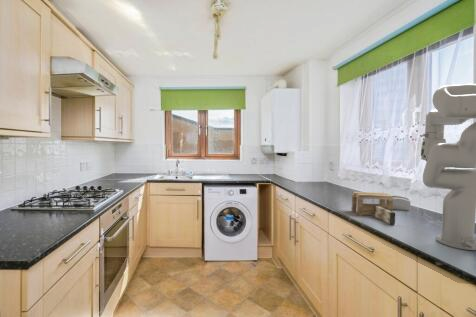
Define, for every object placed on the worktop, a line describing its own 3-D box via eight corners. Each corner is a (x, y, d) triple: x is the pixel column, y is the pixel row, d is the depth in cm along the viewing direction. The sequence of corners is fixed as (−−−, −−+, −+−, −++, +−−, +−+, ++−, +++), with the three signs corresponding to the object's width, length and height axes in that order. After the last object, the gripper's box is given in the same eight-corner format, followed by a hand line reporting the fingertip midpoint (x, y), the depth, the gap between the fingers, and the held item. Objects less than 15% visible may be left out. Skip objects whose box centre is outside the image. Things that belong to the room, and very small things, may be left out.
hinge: (406, 208, 148) (410, 195, 145) (409, 212, 144) (413, 199, 140) (378, 206, 153) (380, 193, 149) (380, 210, 149) (382, 197, 145)
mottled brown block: (373, 216, 129) (374, 205, 128) (376, 216, 129) (377, 205, 128) (391, 224, 114) (391, 212, 114) (394, 224, 114) (395, 213, 114)
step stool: (392, 217, 128) (393, 196, 128) (358, 215, 130) (359, 194, 130) (382, 212, 138) (383, 192, 138) (351, 211, 140) (352, 191, 139)
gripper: (423, 135, 117) (421, 171, 117) (455, 136, 115) (453, 172, 116) (414, 136, 124) (412, 170, 125) (443, 136, 123) (441, 170, 123)
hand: (432, 171), depth 120 cm, fingers closed
